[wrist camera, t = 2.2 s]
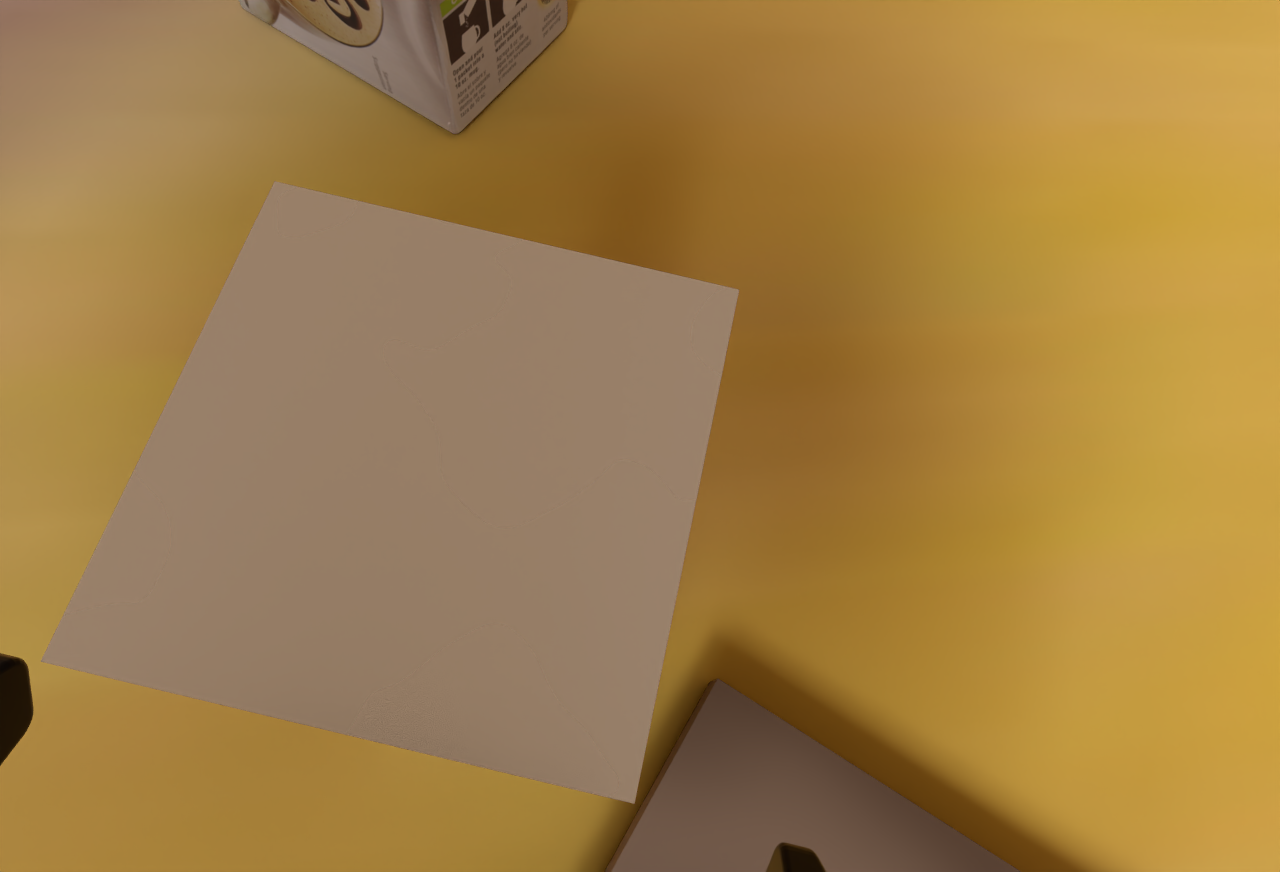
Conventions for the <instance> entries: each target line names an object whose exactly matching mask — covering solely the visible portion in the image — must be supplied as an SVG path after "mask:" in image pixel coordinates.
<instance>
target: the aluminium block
mask: <svg viewBox="0 0 1280 872" xmlns="http://www.w3.org/2000/svg"><path fill="white" fill-rule="evenodd" d="M738 294H739V289H734V288H730V287H726V286H722V285H717V284H713V283H709V282H704V281H700V280H696V279H692V278H687V277H683V276H679V275H674V274H670V273H666V272H662V271H657V270H653V269H649V268H644V267H640V266H636V265H632V264H627V263H623V262H619V261H614V260H610V259H606V258H601V257H597V256H593V255H589V254H584V253H580V252H576V251H571V250H567V249H563V248H559V247H554V246H550V245H546V244H541V243H537V242H533V241H529V240H524V239H520V238H516V237H511V236H507V235H503V234H499V233H494V232H490V231H486V230H481V229H477V228H473V227H469V226H464V225H460V224H456V223H451V222H447V221H443V220H439V219H434V218H430V217H426V216H421V215H417V214H413V213H408V212H404V211H400V210H396V209H391V208H387V207H383V206H378V205H374V204H370V203H366V202H361V201H357V200H353V199H348V198H344V197H340V196H336V195H331V194H327V193H323V192H318V191H314V190H310V189H306V188H301V187H297V186H293V185H288V184H284V183H280V182H276V181H275V182H274V184H273V186H272V188H271V190H270V192H269V194H268V196H267V198H266V200H265V202H264V204H263V206H262V209H261V211H260V213H259V215H258V217H257V219H256V221H255V223H254V225H253V227H252V229H251V231H250V233H249V235H248V237H247V239H246V241H245V243H244V245H243V248H242V250H241V252H240V254H239V256H238V258H237V260H236V262H235V264H234V266H233V268H232V270H231V272H230V274H229V276H228V278H227V280H226V282H225V284H224V287H223V289H222V291H221V293H220V295H219V297H218V299H217V301H216V303H215V305H214V307H213V309H212V311H211V313H210V315H209V317H208V319H207V321H206V323H205V326H204V328H203V330H202V332H201V334H200V336H199V338H198V340H197V342H196V344H195V346H194V348H193V350H192V352H191V354H190V356H189V358H188V360H187V362H186V364H185V367H184V369H183V371H182V373H181V375H180V377H179V379H178V381H177V383H176V385H175V387H174V389H173V391H172V393H171V395H170V397H169V399H168V401H167V403H166V406H165V408H164V410H163V412H162V414H161V416H160V418H159V420H158V422H157V424H156V426H155V428H154V430H153V432H152V434H151V436H150V438H149V440H148V442H147V445H146V447H145V449H144V451H143V453H142V455H141V457H140V459H139V461H138V463H137V465H136V467H135V469H134V471H133V473H132V475H131V477H130V479H129V481H128V483H127V486H126V488H125V490H124V492H123V494H122V496H121V498H120V500H119V502H118V504H117V506H116V508H115V510H114V512H113V514H112V516H111V518H110V520H109V522H108V525H107V527H106V529H105V531H104V533H103V535H102V537H101V539H100V541H99V543H98V545H97V547H96V549H95V551H94V553H93V555H92V557H91V559H90V561H89V564H88V566H87V568H86V570H85V572H84V574H83V576H82V578H81V580H80V582H79V584H78V586H77V588H76V590H75V592H74V594H73V596H72V598H71V600H70V603H69V605H68V607H67V609H66V611H65V613H64V615H63V617H62V619H61V621H60V623H59V625H58V627H57V629H56V631H55V633H54V635H53V637H52V639H51V641H50V644H49V646H48V648H47V650H46V652H45V654H44V656H43V658H42V660H41V662H45V663H49V664H53V665H57V666H62V667H66V668H70V669H74V670H78V671H82V672H87V673H91V674H95V675H99V676H103V677H107V678H112V679H116V680H120V681H124V682H128V683H132V684H137V685H141V686H145V687H149V688H153V689H158V690H162V691H166V692H170V693H174V694H178V695H183V696H187V697H191V698H195V699H199V700H203V701H208V702H212V703H216V704H220V705H224V706H228V707H233V708H237V709H241V710H245V711H249V712H253V713H258V714H262V715H266V716H270V717H274V718H278V719H283V720H287V721H291V722H295V723H299V724H304V725H308V726H312V727H316V728H320V729H324V730H329V731H333V732H337V733H341V734H345V735H349V736H354V737H358V738H362V739H366V740H370V741H374V742H379V743H383V744H387V745H391V746H395V747H399V748H404V749H408V750H412V751H416V752H420V753H425V754H429V755H433V756H437V757H441V758H445V759H450V760H454V761H458V762H462V763H466V764H470V765H475V766H479V767H483V768H487V769H491V770H495V771H500V772H504V773H508V774H512V775H516V776H520V777H525V778H529V779H533V780H537V781H541V782H545V783H550V784H554V785H558V786H562V787H566V788H571V789H575V790H579V791H583V792H587V793H591V794H596V795H600V796H604V797H608V798H612V799H616V800H621V801H625V802H629V803H633V804H634V803H635V798H636V794H637V789H638V784H639V779H640V774H641V769H642V764H643V759H644V754H645V749H646V744H647V740H648V735H649V730H650V725H651V720H652V715H653V710H654V705H655V700H656V695H657V691H658V686H659V681H660V676H661V671H662V666H663V661H664V656H665V651H666V646H667V642H668V637H669V632H670V627H671V622H672V617H673V612H674V607H675V602H676V597H677V593H678V588H679V583H680V578H681V573H682V568H683V563H684V558H685V553H686V548H687V544H688V539H689V534H690V529H691V524H692V519H693V514H694V509H695V504H696V499H697V494H698V490H699V485H700V480H701V475H702V470H703V465H704V460H705V455H706V450H707V445H708V441H709V436H710V431H711V426H712V421H713V416H714V411H715V406H716V401H717V396H718V392H719V387H720V382H721V377H722V372H723V367H724V362H725V357H726V352H727V347H728V343H729V338H730V333H731V328H732V323H733V318H734V313H735V308H736V303H737V298H738Z"/></svg>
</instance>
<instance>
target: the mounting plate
mask: <svg viewBox="0 0 1280 872" xmlns="http://www.w3.org/2000/svg"><path fill="white" fill-rule="evenodd" d="M782 842H785V843H790V844H794V845H798V846H802V847H806V848H809V849H811V850H813V851H814V852H815V853H816V854H817V856H818V858H819V859H820V861H821V863H822V865H823V867H824V869H825V870H826V872H1021V871H1019V870H1017V869H1016V868H1014V867H1013V866H1011V865H1010V864H1008V863H1006V862H1005V861H1003V860H1002V859H1000V858H999V857H997V856H995V855H994V854H992V853H991V852H989V851H988V850H986V849H985V848H983V847H981V846H980V845H978V844H977V843H975V842H974V841H972V840H970V839H969V838H967V837H966V836H964V835H963V834H961V833H959V832H958V831H956V830H955V829H953V828H952V827H950V826H948V825H947V824H945V823H944V822H942V821H941V820H939V819H937V818H936V817H934V816H933V815H931V814H930V813H928V812H926V811H925V810H923V809H922V808H920V807H919V806H917V805H915V804H914V803H912V802H911V801H909V800H908V799H906V798H905V797H903V796H901V795H900V794H898V793H897V792H895V791H894V790H892V789H890V788H889V787H887V786H886V785H884V784H883V783H881V782H879V781H878V780H876V779H875V778H873V777H872V776H870V775H868V774H867V773H865V772H864V771H862V770H861V769H859V768H857V767H856V766H854V765H853V764H851V763H850V762H848V761H846V760H845V759H843V758H842V757H840V756H839V755H837V754H835V753H834V752H832V751H831V750H829V749H828V748H826V747H825V746H823V745H821V744H820V743H818V742H817V741H815V740H814V739H812V738H810V737H809V736H807V735H806V734H804V733H803V732H801V731H799V730H798V729H796V728H795V727H793V726H792V725H790V724H788V723H787V722H785V721H784V720H782V719H781V718H779V717H777V716H776V715H774V714H773V713H771V712H770V711H768V710H766V709H765V708H763V707H762V706H760V705H759V704H757V703H755V702H754V701H752V700H751V699H749V698H748V697H746V696H744V695H743V694H741V693H740V692H738V691H737V690H735V689H734V688H732V687H730V686H729V685H727V684H726V683H724V682H723V681H721V680H719V679H716V680H714V681H712V682H710V683H709V684H708V686H707V688H706V690H705V692H704V693H703V695H702V697H701V699H700V701H699V702H698V704H697V706H696V708H695V710H694V711H693V713H692V715H691V717H690V719H689V720H688V722H687V724H686V726H685V728H684V730H683V731H682V733H681V735H680V737H679V739H678V740H677V742H676V744H675V746H674V748H673V749H672V751H671V753H670V755H669V757H668V758H667V760H666V762H665V764H664V766H663V767H662V769H661V771H660V773H659V775H658V776H657V778H656V780H655V782H654V784H653V785H652V787H651V789H650V791H649V793H648V794H647V796H646V798H645V800H644V802H643V803H642V805H641V807H640V809H639V811H638V812H637V814H636V816H635V818H634V820H633V821H632V823H631V825H630V827H629V829H628V830H627V832H626V834H625V836H624V838H623V839H622V841H621V843H620V845H619V847H618V848H617V850H616V852H615V854H614V856H613V858H612V859H611V861H610V863H609V865H608V867H607V868H606V870H605V872H766V870H767V867H768V865H769V862H770V860H771V857H772V855H773V852H774V850H775V848H776V847H777V845H778V844H779V843H782Z"/></svg>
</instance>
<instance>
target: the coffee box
mask: <svg viewBox="0 0 1280 872" xmlns="http://www.w3.org/2000/svg"><path fill="white" fill-rule="evenodd" d="M239 2H240V4H241V6H242V8H243V9H245V10H246V11H248V12H250V13H251V14H253V15H255V16H256V17H258V18H259V19H261V20H263V21H264V22H266V23H268V24H269V25H271V26H273V27H274V28H276V29H278V30H279V31H281V32H283V33H284V34H286V35H288V36H289V37H291V38H293V39H294V40H296V41H298V42H300V43H301V44H303V45H305V46H306V47H308V48H310V49H311V50H313V51H315V52H316V53H318V54H320V55H322V56H323V57H325V58H327V59H328V60H330V61H332V62H333V63H335V64H337V65H338V66H340V67H342V68H343V69H345V70H347V71H348V72H350V73H352V74H353V75H355V76H357V77H359V78H360V79H362V80H364V81H365V82H367V83H369V84H370V85H372V86H374V87H375V88H377V89H379V90H381V91H382V92H384V93H386V94H387V95H389V96H391V97H392V98H394V99H396V100H397V101H399V102H401V103H402V104H404V105H406V106H407V107H409V108H411V109H412V110H414V111H416V112H417V113H419V114H421V115H422V116H424V117H426V118H428V119H429V120H431V121H433V122H434V123H436V124H438V125H439V126H441V127H443V128H444V129H446V130H448V131H450V132H451V133H453V134H457V133H459V132H461V131H462V130H463V129H464V128H465V127H466V126H467V125H468V124H469V123H470V122H471V121H472V120H473V119H474V118H475V117H476V116H477V115H478V114H479V113H480V112H481V111H482V110H483V109H484V108H485V107H486V106H487V105H488V104H489V103H490V102H491V101H492V100H493V99H494V98H495V97H496V96H497V95H498V94H499V93H500V92H501V91H503V90H504V89H505V88H506V87H507V86H508V85H509V84H510V83H511V82H512V81H513V80H514V79H515V78H516V77H517V76H518V75H519V74H520V73H521V72H522V71H523V70H524V69H525V68H526V67H527V66H528V65H529V64H530V63H531V62H532V61H533V60H534V59H535V58H536V57H537V56H538V55H539V54H540V53H541V52H542V51H543V50H544V49H545V48H546V47H547V46H548V45H549V44H550V43H551V42H552V41H553V40H554V39H555V38H556V37H557V36H558V35H559V34H560V33H561V32H562V31H563V30H564V29H565V27H566V25H567V17H568V11H567V0H239Z"/></svg>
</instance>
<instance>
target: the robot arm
mask: <svg viewBox="0 0 1280 872" xmlns="http://www.w3.org/2000/svg"><path fill="white" fill-rule="evenodd" d="M32 717H33V701H32V693H31V686H30V678H29V670H28V666H27V664H26V663H25V662H24V660H22V659H20V658H18V657H13V656H9V655H5V654H1V653H0V765H1V764H2V763H3V761H4V760H5V759H6V758H7V756H8V755H9V754H10V752H11V751H12V750H13V748H14V747H15V746H16V744H17V743H18V742H19V741H20V739H21V738H22V737H23V735H24V734H25V732H26V731H27V729H28V727H29V725H30V723H31V720H32ZM766 872H826V870H825V869H824V867H823V865H822V863H821V861H820V859H819V858H818V856H817V854H816V853H815V852H814V851H813V850H811V849H809V848H806V847H802V846H798V845H794V844H790V843H785V842H782V843H779V844H778V845H777V847H776V848H775V850H774V852H773V855H772V857H771V860H770V862H769V865H768V867H767V870H766Z"/></svg>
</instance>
